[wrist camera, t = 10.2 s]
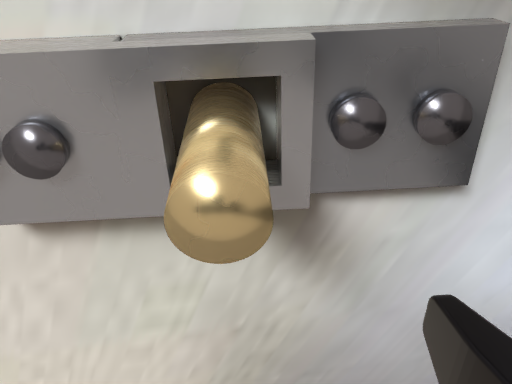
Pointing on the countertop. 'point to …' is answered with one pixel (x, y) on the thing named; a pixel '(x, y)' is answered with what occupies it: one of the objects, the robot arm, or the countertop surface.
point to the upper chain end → (130, 120)
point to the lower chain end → (389, 100)
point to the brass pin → (220, 179)
